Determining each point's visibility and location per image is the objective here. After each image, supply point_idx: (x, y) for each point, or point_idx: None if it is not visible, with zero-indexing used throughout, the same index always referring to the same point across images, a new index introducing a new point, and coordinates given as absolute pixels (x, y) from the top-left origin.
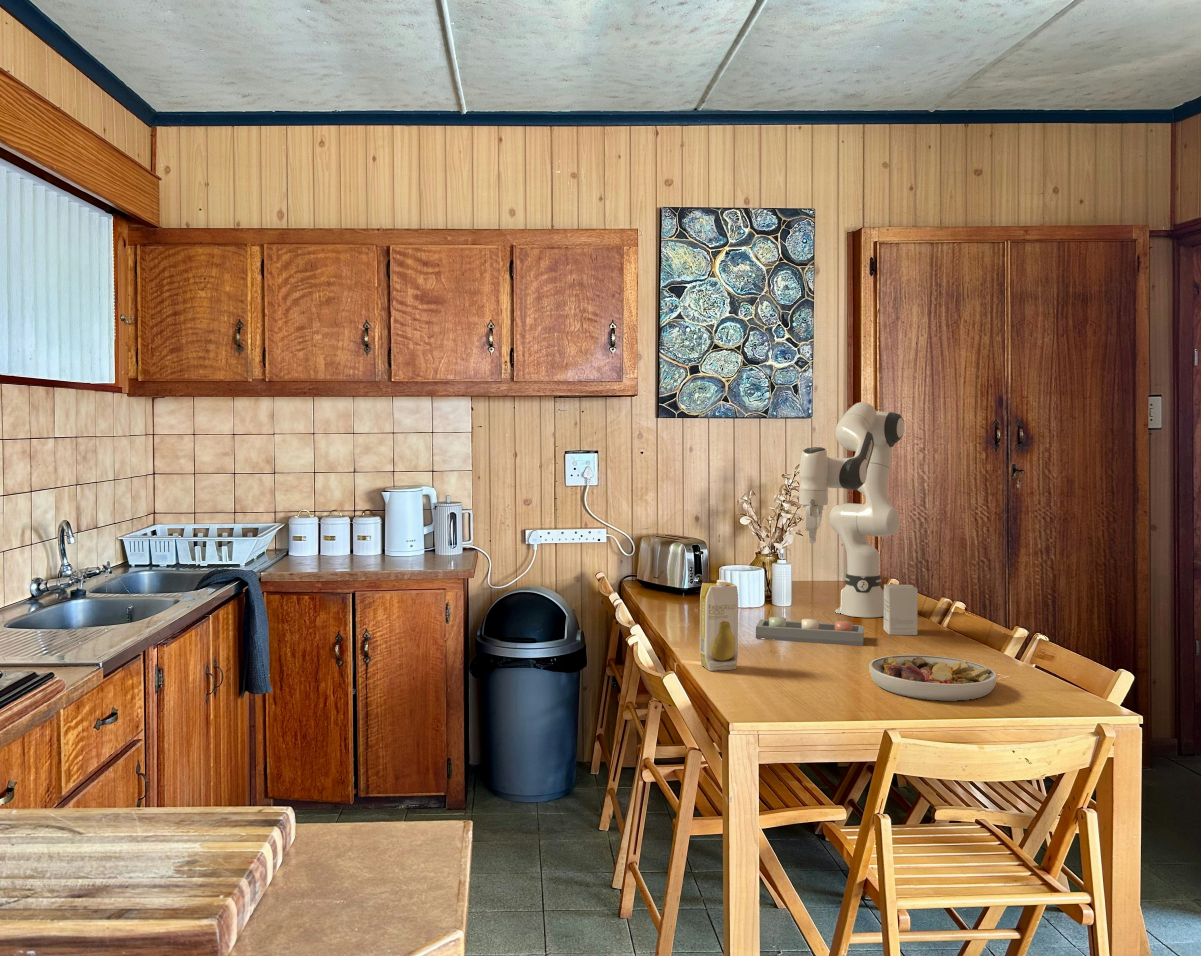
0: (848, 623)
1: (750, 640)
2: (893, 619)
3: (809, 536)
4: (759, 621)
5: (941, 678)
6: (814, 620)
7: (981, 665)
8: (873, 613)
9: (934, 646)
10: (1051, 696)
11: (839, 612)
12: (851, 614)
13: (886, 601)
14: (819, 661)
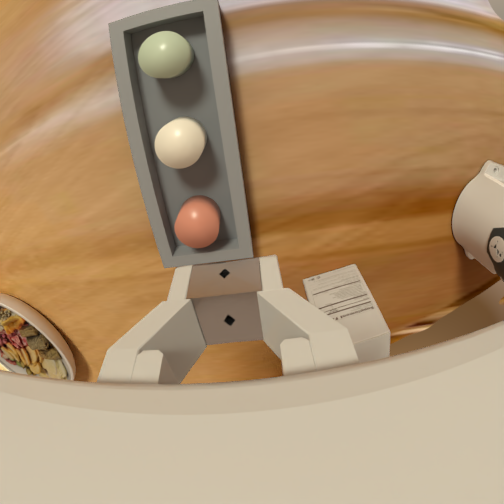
0: (189, 241)
1: (98, 27)
2: None
3: (152, 311)
4: (183, 2)
5: (4, 352)
6: (182, 156)
7: None
8: (458, 237)
9: (231, 342)
10: None
11: (482, 170)
12: (463, 195)
13: (342, 316)
14: (20, 211)
